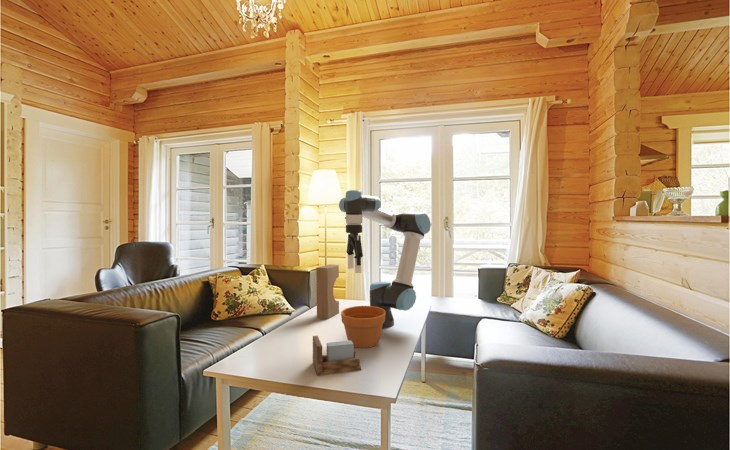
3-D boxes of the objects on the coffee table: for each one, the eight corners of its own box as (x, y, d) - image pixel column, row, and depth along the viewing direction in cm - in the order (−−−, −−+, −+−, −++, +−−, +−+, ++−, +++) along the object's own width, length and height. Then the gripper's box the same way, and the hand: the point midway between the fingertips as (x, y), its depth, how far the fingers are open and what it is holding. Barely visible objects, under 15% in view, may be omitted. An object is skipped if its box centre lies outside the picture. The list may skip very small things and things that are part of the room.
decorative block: (327, 319, 198) (327, 268, 197) (316, 318, 201) (316, 267, 200) (339, 312, 212) (339, 264, 211) (328, 311, 215) (328, 264, 214)
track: (353, 357, 143) (353, 331, 142) (361, 369, 131) (360, 341, 131) (312, 362, 138) (312, 335, 138) (317, 375, 126) (316, 346, 126)
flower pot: (377, 353, 147) (377, 319, 147) (333, 347, 154) (333, 315, 154) (391, 337, 167) (390, 307, 167) (351, 333, 174) (351, 304, 174)
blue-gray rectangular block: (351, 359, 138) (351, 340, 138) (353, 363, 134) (353, 343, 134) (326, 362, 136) (326, 342, 135) (328, 366, 132) (328, 346, 132)
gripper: (340, 224, 166) (340, 267, 167) (352, 224, 142) (353, 275, 143) (355, 223, 168) (355, 266, 169) (369, 224, 144) (370, 274, 145)
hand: (354, 270), depth 156 cm, fingers open, 13 cm apart
